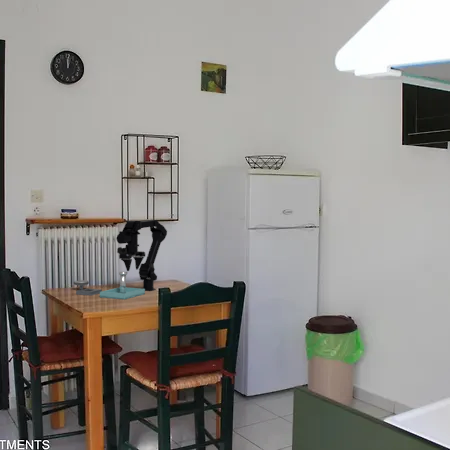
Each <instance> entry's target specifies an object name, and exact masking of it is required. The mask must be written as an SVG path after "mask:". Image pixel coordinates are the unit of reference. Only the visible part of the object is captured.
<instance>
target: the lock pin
mask: <svg viewBox="0 0 450 450" xmlns="http://www.w3.org/2000/svg"><path fill="white" fill-rule="evenodd" d="M118 275H119V287H120V293H126V287H127V284H126V283H127V275H128V271H119V272H118Z"/></svg>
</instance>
